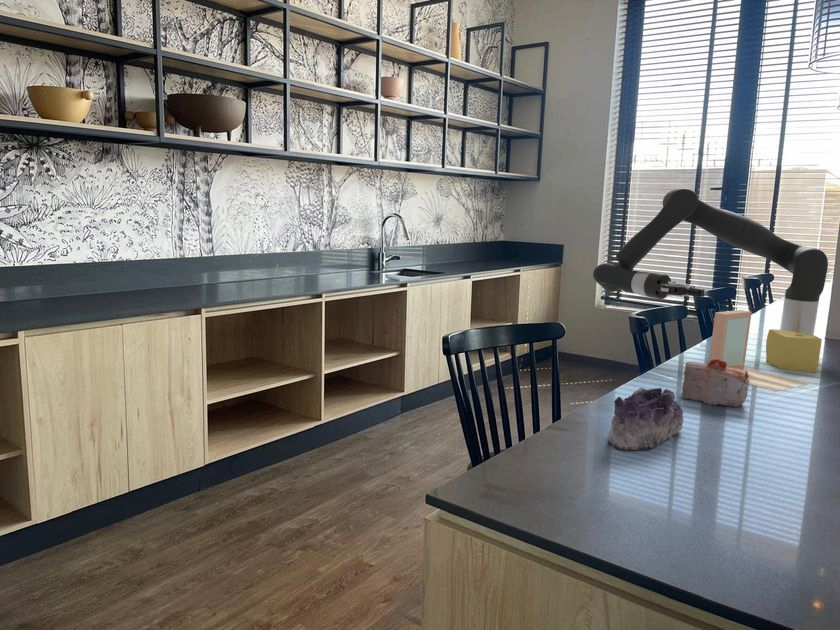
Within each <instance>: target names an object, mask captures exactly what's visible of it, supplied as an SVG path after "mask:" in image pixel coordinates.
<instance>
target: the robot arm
mask: <svg viewBox="0 0 840 630" xmlns="http://www.w3.org/2000/svg"><path fill="white" fill-rule="evenodd" d="M683 221H684V222H686V223H689V224H692V225H695V226H697V227H699V228H700V229H703V230H704V231H707V232H708V233H709V234H711V235H712V236H714V237H716V238H718V239H720V240H722V241H723V242H725V243H727V244H730V245H731V246H734V247H735V248H738V249H741V250H742V251H745V252H747V253H750V254H752V255H756V256H759V257H762V258H764V259H768V260H769V261H771V262H773V263H774V264H776V265H779V267H781V268H783V269H785V270H786V271H788V272H789V273H791V274H792V278H791V282H790V285H789V286H788V288H786V289H785V293H784V299H783V305H782V306H783V307H782V314H781V322H780V327H779V330H784V331H792V332H796V333H802V334H811V335H814V336H815V329H816V322H817V321H816V320H817V316H818V315H817V314H818V309H819V304H820V303H819V301H820V297H821V295H822V293H823V291H824V288H825V284H826V283H825V282H826V279H827V274H828V268H829V258H828V257H827V255H826V253H825V252H824V251H822V250H821V249H819V248H816V247H815V248H814V247H808V246H802V245H799V244H797V243H794V242H791V241H789V240H786V239H784V238H781V237H780V236H778V235H776V234H775V233H774V232H772V231H771V230H770V229H769V228H767V227H766V226H764V225H762V224H761V223H760V222H757V221H755V220H753V219H751V218H749V217H747V216H745V215H742V214H739V213H736V212H734V211H730V210H727V209H725V208H724V209H723V208H720V207H717V206H713V205H710V204H708V203H706V202H705V201H703V200H701V199H699V197H698V195H697V193H696V192H695V191H694V190H692V189H691V188H687V187H679V188H674V189H672V190H670V191H669V192H667V193H666V194H665V195H664V197H663V199H662V208H661V210H660V211H659V212H658V214H657V215H656V216H655V217H654V218H653V219H652V220H651V221H649V222H648V224H646V226H644V227H643V228H642V229H641V230H639V231H638V232H636V234H635V235H633V236H632V237H631V238H630V239H629V240H628V241H627V242H626V243H625V244H624V245H623V246H622V247H621V248H620V249H619V250H618V252H617V253H616V256H615V258H616V260H617V265H616V264H613V263H610V262H609V263H608V262H606V263H601V264H599V265H597V266H596V267H595V268H594V269H593V273H592V276H593V279H594V281H595V282H596V283H597V284H598V285H599V286H601V288H603V289H604V290H605V291H606V292H608V293H615V292H617V291H619V290H621V291H623V292H625V293H629V294H636V295H638V296H641V297H647V298H651V299H657V300H664V299H666V298H667V297H668V296H669V297H670V296H675V297H682V296H684V297H688V296H690V297H694V298H695V297H697V298H704V297H705V289H704V288H698V287H696V286H695V285H692V284H689V283H683V282H680V281H675V280H674V281H672V279H671V277H670V276H669V275H668V274H665V273H660V272H659V273H657V272H654V271H653V272H652V271H651V272H650V271H641V270H640V271H639V270H634V269H635V267H636V266H637V265H638V264H640V262H641V261H642V260H643V259H644V258H645V257H646V256H647V255H648V253H650V252H651V250H652V249H653V248H654V247H655V246H656V245H657V244H658V243H659V242H661V240H662V239H663V238H664V237H665V236H666V235H667V234H668V233H669V232H671V230H673V229H674V228H675V227H676V226H677V225H679V224H680V223H682V222H683Z"/></svg>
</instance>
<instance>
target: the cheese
mask: <svg viewBox="0 0 840 630" xmlns="http://www.w3.org/2000/svg"><path fill="white" fill-rule="evenodd" d="M821 348H822V338H820V337H818V336H816V335H815V334H814V335H811V334H802V333H796V332H792V331H784V330H780V329H768V333H767V337H766V341H765V356H766V357H765V359H766V360H765V362H766V363H768V364H771V365H773V366H775V367H776V368H778V369H780V370H787V371H788V370H789V371H790V370H791V371H804V372H808V373H817V370H818V367H819V360H820V355H821V350H822V349H821Z"/></svg>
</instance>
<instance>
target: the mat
mask: <svg viewBox="0 0 840 630" xmlns="http://www.w3.org/2000/svg"><path fill="white" fill-rule="evenodd" d="M741 370H747V371H748V375H749V386H754V387H758V388H762V389H765V390H769V391H772V392H775V393H776V392H780V391H781V392H782V391H785V390H789V389H793V388H798V387H803V386H806V385H807V386H808V385H810V383H808V382H805V381H801V380H797V379H792V378H789V377H785V376H780V375H776V374H772V373H769V372H765V371H760V370H757V369H753V368H748V367H745V366H744V369H741Z"/></svg>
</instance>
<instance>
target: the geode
mask: <svg viewBox="0 0 840 630" xmlns="http://www.w3.org/2000/svg"><path fill="white" fill-rule="evenodd" d="M675 399H676V396H675V393H674V391H672V390H670V389H666V388H665V389H664V390H663V389H662V387H656V388H651V389H645V388H644V387H640V388H638V389H637V390H635V391H634V392H633V393H632V394H631V395H629V396H627V397H625V398H624V399H623V398H621V397H620V396H618V397H617V398H616V399H615V400H614V401H613V403H614V411H613V414H614V415H613V417H612V419H611V427H610V430H609V432H608V437H607V444H608V445H610V447H612V448H613V449H615V450H618V451H620V452H645V451H650V450H652V449H654V448H655V447H657V446H658V445H660V444H662V443H664V442H666V441H667V440H670V439H671V438H672V437H673V436H675V435H676V434H678V433H679V432H680V431H681V430H683V423H684V420H685V419H684V413H685V412H684V411H683V409H682V407H681V406H680V405H679V403H678V402H677V401H676V400H675Z"/></svg>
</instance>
